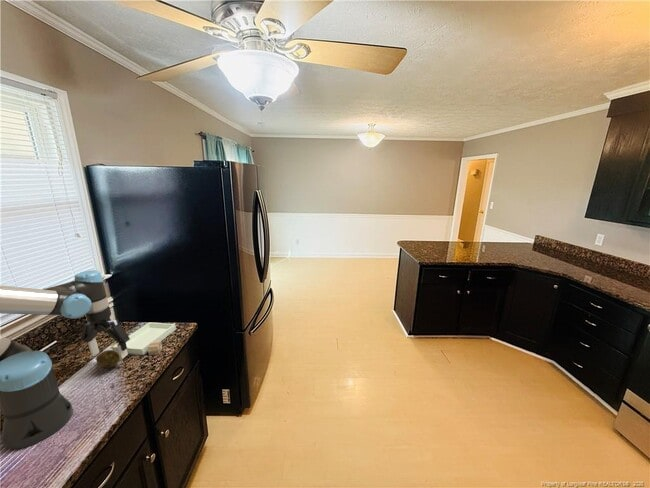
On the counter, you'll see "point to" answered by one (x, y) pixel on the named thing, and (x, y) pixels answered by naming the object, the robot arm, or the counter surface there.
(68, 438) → the counter surface
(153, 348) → the beech block
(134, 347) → the tray
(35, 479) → the counter surface
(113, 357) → the potato
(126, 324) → the counter surface
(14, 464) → the counter surface
